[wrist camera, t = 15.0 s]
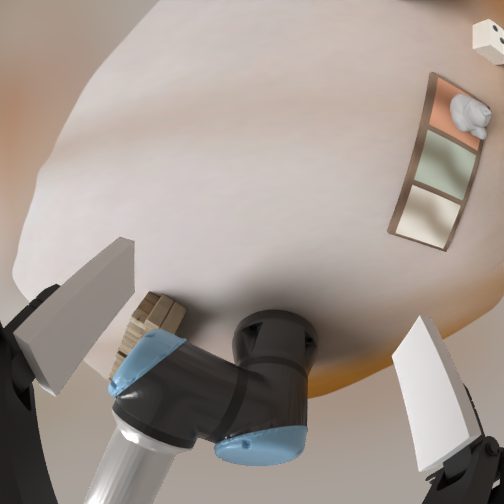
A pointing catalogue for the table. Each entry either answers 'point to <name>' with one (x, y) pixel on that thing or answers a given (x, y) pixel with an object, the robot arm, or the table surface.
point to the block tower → (148, 323)
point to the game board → (437, 172)
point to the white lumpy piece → (470, 115)
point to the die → (489, 41)
